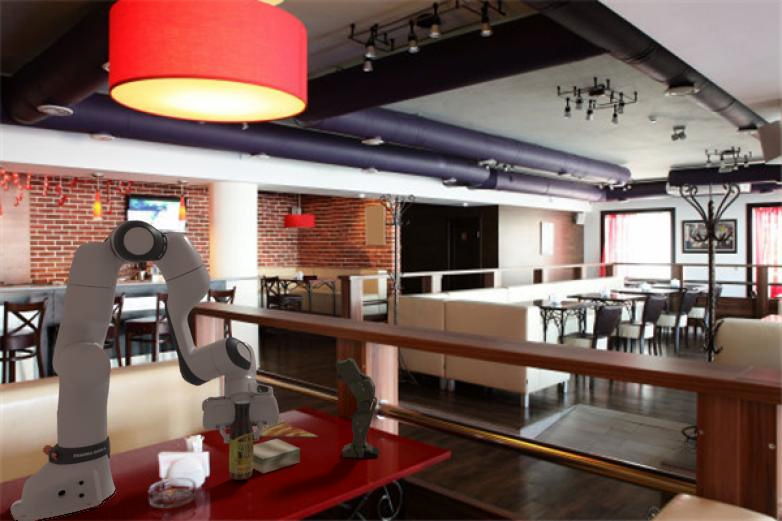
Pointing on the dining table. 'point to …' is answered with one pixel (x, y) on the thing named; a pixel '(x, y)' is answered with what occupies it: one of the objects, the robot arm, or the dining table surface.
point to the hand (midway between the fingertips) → (241, 440)
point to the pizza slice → (283, 431)
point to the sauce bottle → (241, 443)
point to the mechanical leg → (359, 408)
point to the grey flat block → (274, 455)
